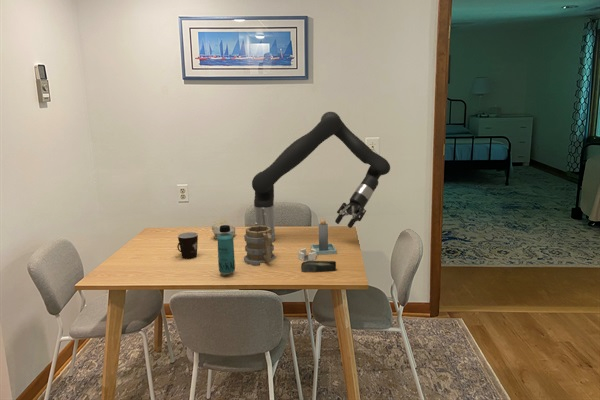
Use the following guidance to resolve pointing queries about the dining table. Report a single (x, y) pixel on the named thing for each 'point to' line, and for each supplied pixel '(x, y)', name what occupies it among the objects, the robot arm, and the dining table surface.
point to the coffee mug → (188, 245)
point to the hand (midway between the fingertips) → (342, 224)
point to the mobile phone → (318, 266)
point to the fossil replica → (217, 228)
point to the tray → (330, 251)
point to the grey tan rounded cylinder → (323, 236)
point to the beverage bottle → (225, 251)
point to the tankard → (259, 245)
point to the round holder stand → (304, 257)
